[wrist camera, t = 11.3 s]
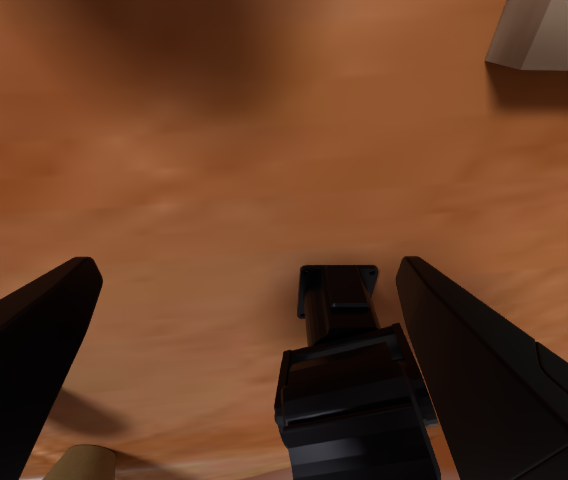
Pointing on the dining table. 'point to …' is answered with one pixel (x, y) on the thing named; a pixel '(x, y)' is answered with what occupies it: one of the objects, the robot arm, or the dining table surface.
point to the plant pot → (84, 464)
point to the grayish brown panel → (532, 36)
